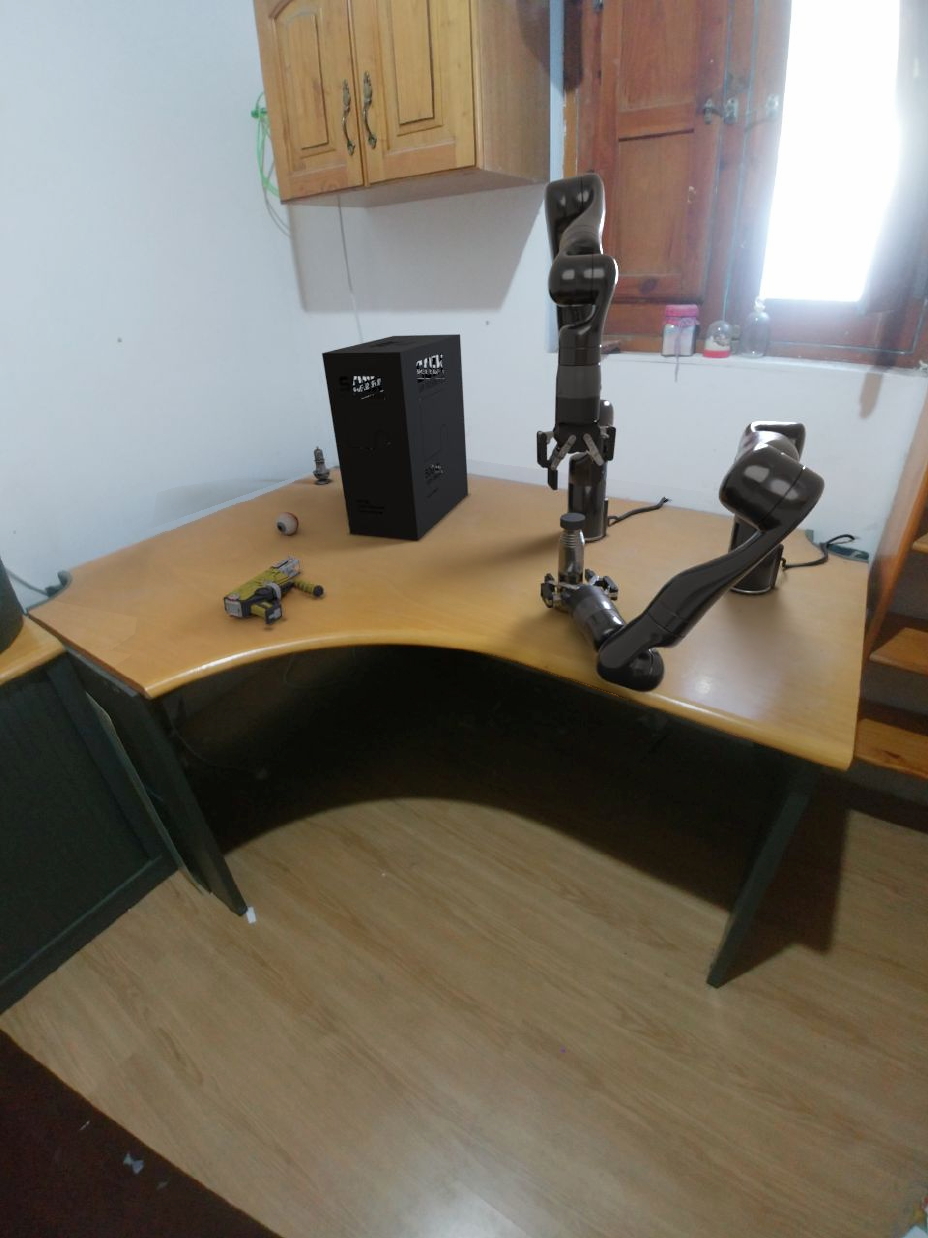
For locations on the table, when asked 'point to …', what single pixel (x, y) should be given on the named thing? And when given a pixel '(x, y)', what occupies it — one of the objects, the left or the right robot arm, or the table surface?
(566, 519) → the cap
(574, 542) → the bottle
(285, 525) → the eyeball
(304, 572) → the table surface
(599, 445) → the left robot arm
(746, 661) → the table surface
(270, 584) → the toy gun
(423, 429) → the cardboard box
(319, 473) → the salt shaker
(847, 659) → the table surface
